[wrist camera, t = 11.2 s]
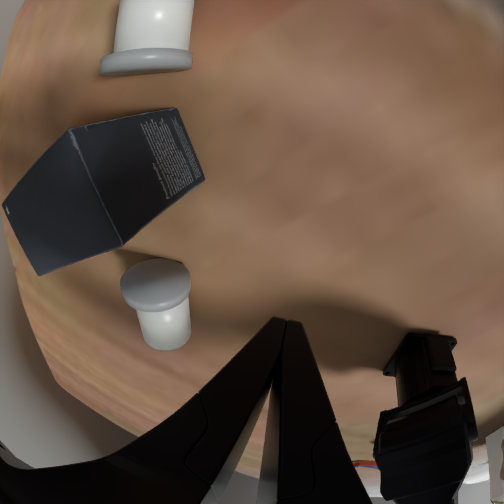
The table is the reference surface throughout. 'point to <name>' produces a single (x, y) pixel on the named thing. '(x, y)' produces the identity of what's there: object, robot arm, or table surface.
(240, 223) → the table surface
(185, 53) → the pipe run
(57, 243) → the small box
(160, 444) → the robot arm
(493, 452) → the gable box
